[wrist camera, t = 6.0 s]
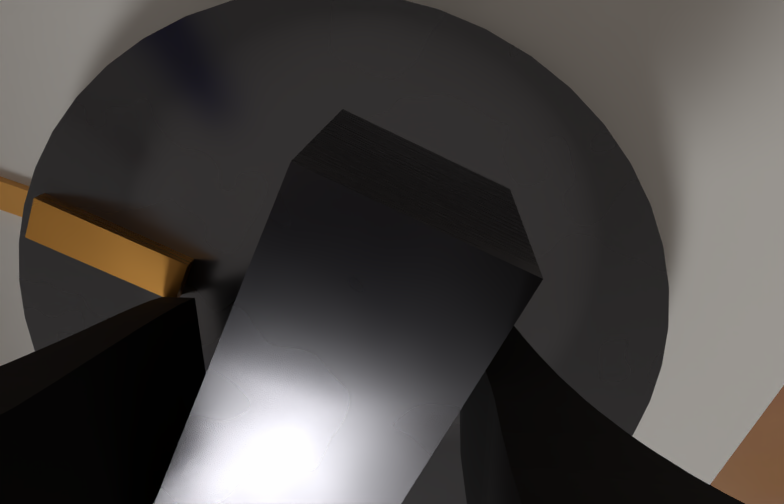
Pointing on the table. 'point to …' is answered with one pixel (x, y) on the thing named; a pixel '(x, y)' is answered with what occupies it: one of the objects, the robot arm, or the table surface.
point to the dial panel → (608, 102)
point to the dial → (345, 240)
